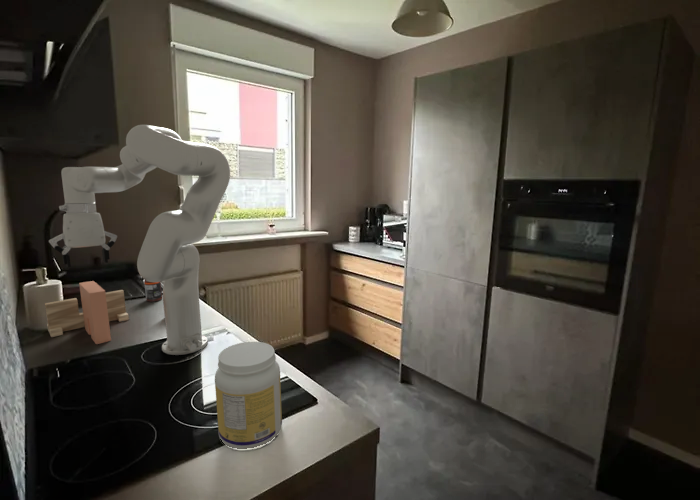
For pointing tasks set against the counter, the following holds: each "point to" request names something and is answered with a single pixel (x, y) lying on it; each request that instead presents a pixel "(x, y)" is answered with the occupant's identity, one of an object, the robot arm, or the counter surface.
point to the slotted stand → (69, 318)
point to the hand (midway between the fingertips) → (87, 264)
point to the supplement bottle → (153, 291)
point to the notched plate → (95, 311)
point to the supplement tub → (248, 395)
